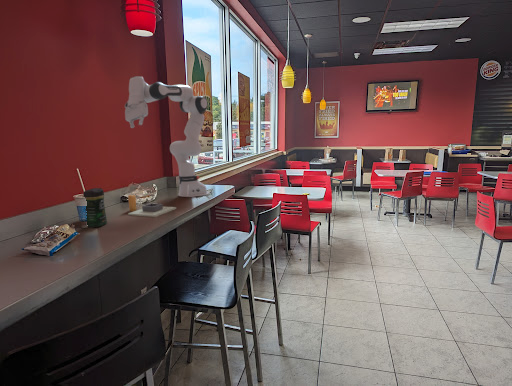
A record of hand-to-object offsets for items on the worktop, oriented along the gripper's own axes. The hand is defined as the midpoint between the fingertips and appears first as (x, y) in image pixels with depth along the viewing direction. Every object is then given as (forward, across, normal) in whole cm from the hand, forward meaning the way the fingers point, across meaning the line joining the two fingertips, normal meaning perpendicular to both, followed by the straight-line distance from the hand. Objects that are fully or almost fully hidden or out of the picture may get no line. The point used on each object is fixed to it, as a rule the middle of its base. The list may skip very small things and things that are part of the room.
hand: (136, 126), depth 199 cm
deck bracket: (+51, -10, -5) cm, 52 cm away
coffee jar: (+58, -12, +27) cm, 65 cm away
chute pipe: (+50, +2, 0) cm, 50 cm away
